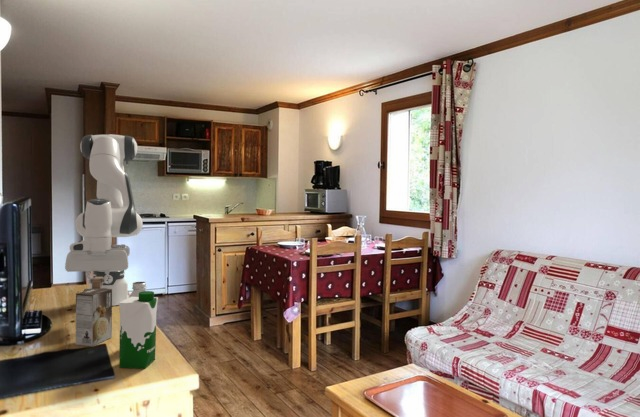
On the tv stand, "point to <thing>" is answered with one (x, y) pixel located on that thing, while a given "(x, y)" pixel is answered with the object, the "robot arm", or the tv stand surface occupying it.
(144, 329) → the milk carton
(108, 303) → the coffee box
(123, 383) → the tv stand surface
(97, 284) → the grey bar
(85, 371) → the tv stand surface
